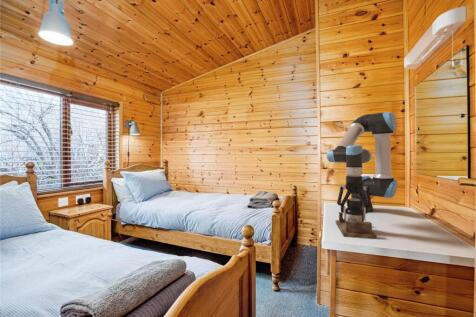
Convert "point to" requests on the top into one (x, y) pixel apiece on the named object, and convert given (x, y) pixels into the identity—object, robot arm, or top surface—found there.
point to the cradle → (355, 228)
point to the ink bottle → (354, 210)
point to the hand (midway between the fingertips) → (353, 219)
